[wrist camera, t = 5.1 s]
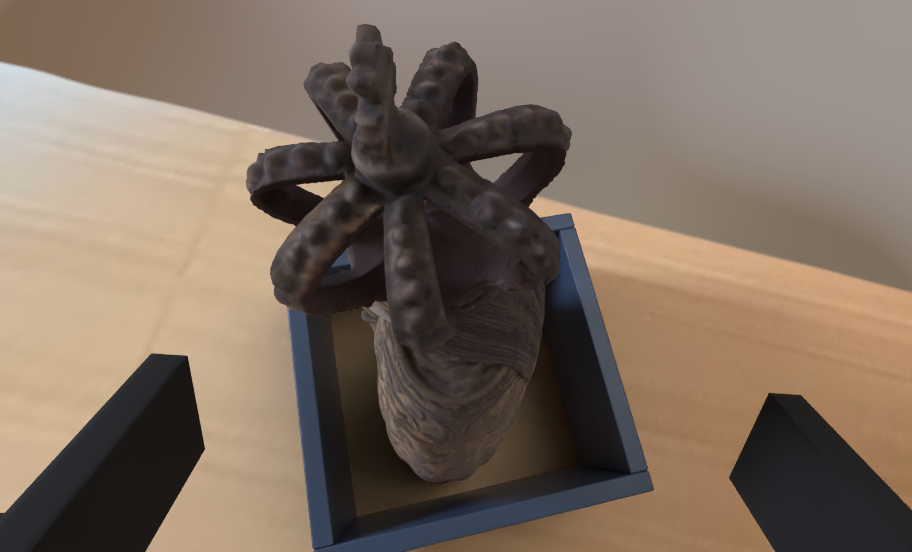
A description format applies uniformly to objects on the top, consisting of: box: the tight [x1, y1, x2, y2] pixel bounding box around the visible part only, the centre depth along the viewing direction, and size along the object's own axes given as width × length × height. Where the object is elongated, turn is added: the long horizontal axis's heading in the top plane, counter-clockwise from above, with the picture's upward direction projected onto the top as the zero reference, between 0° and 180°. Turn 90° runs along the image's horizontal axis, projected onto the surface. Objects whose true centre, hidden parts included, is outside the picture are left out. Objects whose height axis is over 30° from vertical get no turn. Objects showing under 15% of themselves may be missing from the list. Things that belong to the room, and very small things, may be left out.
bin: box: [287, 213, 654, 552], centre depth 24 cm, size 13×14×7 cm
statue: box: [246, 24, 572, 484], centre depth 16 cm, size 9×8×25 cm
